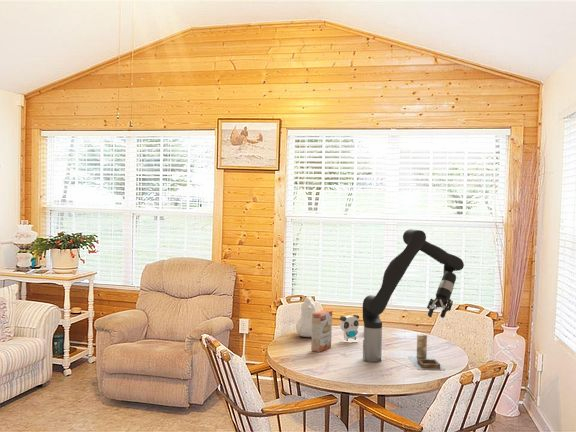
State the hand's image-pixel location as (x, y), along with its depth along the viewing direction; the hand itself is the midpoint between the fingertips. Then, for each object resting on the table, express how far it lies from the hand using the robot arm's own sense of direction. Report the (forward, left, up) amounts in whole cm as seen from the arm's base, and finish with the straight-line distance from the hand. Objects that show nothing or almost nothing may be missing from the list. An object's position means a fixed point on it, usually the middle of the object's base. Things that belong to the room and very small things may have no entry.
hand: (435, 316), depth 285 cm
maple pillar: (-8, -4, -21) cm, 23 cm away
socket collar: (-8, -18, -22) cm, 29 cm away
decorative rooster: (-64, +47, -22) cm, 83 cm away
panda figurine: (-41, +34, -22) cm, 58 cm away
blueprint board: (-8, -12, -22) cm, 26 cm away
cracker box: (-59, +14, -22) cm, 65 cm away
